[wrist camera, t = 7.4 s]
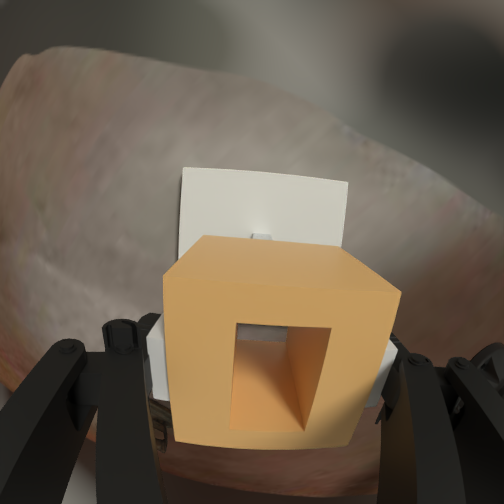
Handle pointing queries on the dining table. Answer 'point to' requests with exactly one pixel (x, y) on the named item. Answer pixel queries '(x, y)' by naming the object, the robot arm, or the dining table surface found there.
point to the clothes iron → (161, 422)
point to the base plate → (260, 206)
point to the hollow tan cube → (272, 343)
